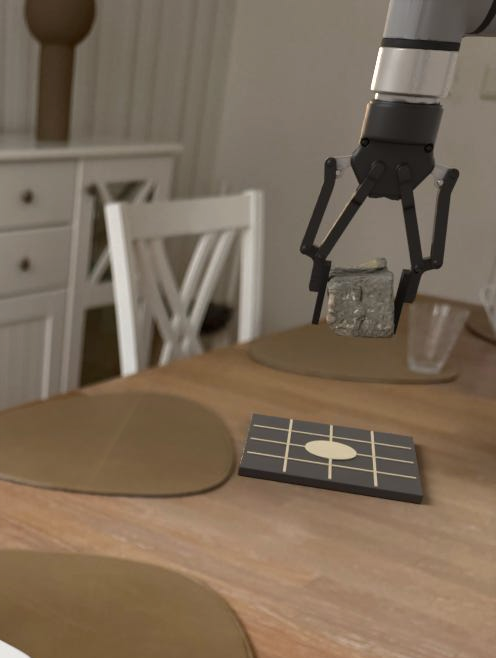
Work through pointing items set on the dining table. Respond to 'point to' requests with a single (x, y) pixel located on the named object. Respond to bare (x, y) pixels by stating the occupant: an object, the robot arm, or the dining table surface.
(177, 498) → the dining table surface
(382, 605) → the dining table surface
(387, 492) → the board
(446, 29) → the robot arm
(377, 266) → the rock
